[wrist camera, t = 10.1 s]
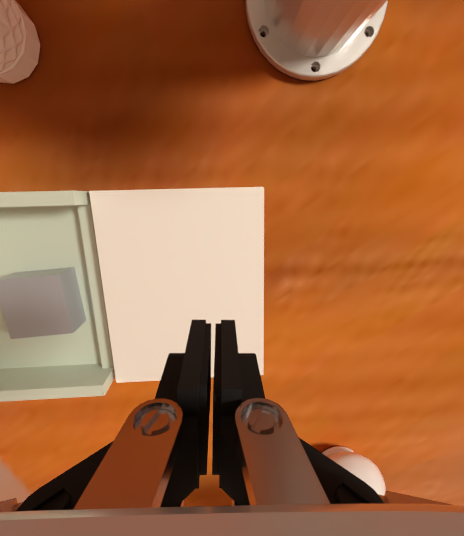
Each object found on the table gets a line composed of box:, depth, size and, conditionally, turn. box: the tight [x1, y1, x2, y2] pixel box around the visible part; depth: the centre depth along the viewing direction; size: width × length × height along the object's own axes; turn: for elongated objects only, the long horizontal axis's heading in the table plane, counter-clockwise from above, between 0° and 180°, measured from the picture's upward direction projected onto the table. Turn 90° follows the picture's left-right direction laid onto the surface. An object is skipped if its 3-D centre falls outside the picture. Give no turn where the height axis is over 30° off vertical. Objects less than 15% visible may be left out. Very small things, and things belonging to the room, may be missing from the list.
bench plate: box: [89, 187, 264, 383], centre depth 30 cm, size 20×16×3 cm
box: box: [0, 191, 115, 402], centre depth 28 cm, size 20×16×5 cm
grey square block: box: [0, 267, 86, 339], centre depth 29 cm, size 6×6×3 cm
